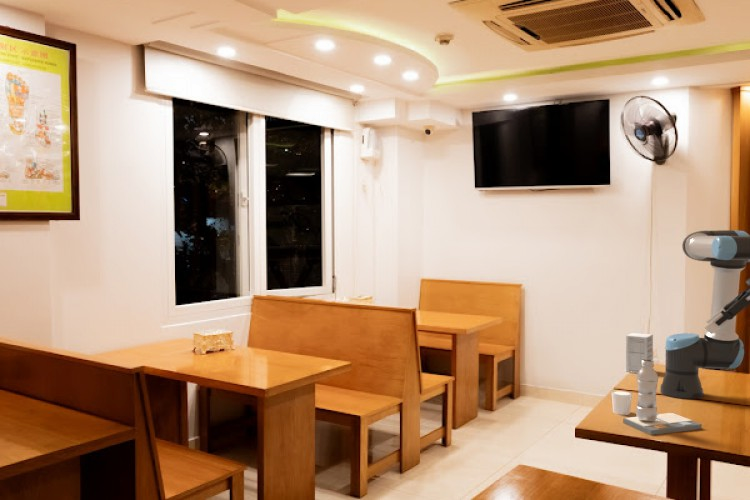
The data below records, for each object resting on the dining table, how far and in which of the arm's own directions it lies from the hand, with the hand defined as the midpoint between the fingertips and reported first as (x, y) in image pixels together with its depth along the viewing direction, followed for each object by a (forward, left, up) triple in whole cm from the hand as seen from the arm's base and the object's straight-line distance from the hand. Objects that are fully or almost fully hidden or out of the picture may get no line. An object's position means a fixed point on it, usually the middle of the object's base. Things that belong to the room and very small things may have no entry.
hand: (708, 327), depth 200 cm
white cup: (+11, -27, -34) cm, 45 cm away
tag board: (+8, -10, -34) cm, 36 cm away
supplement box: (-38, -77, -34) cm, 92 cm away
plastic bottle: (+13, -12, -32) cm, 37 cm away
